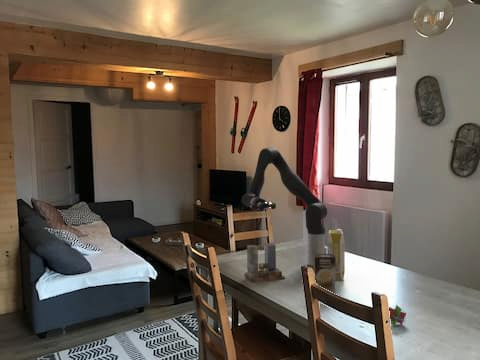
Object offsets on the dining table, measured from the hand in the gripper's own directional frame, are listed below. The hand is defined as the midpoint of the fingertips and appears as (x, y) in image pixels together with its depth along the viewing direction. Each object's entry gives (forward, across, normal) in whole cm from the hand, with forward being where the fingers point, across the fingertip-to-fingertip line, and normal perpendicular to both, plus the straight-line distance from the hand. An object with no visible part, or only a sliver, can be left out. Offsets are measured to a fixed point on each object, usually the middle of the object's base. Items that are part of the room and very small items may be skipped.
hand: (267, 207), depth 212 cm
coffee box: (+42, +12, +32) cm, 54 cm away
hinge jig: (+14, -7, +32) cm, 36 cm away
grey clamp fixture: (+15, -6, +31) cm, 35 cm away
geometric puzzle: (+80, +21, +33) cm, 88 cm away
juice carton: (+28, +25, +32) cm, 49 cm away
